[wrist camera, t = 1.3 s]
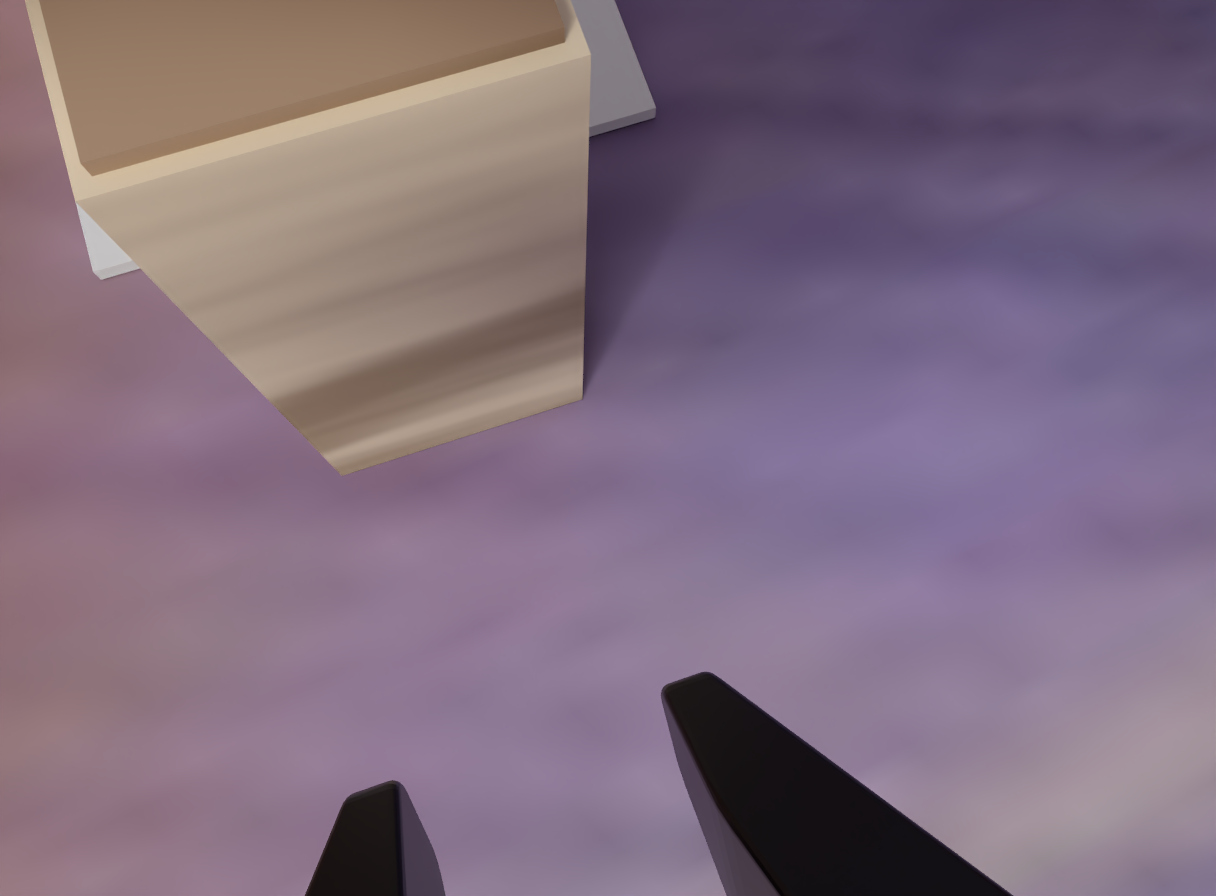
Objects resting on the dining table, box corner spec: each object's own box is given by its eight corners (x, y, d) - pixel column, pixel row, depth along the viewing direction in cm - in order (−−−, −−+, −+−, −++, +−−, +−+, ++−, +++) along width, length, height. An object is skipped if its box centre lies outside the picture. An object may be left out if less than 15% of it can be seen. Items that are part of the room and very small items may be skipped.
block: (582, 398, 22) (591, 38, 10) (341, 475, 22) (63, 189, 10) (507, 183, 23) (437, -367, 12) (276, 251, 23) (-47, -251, 11)
